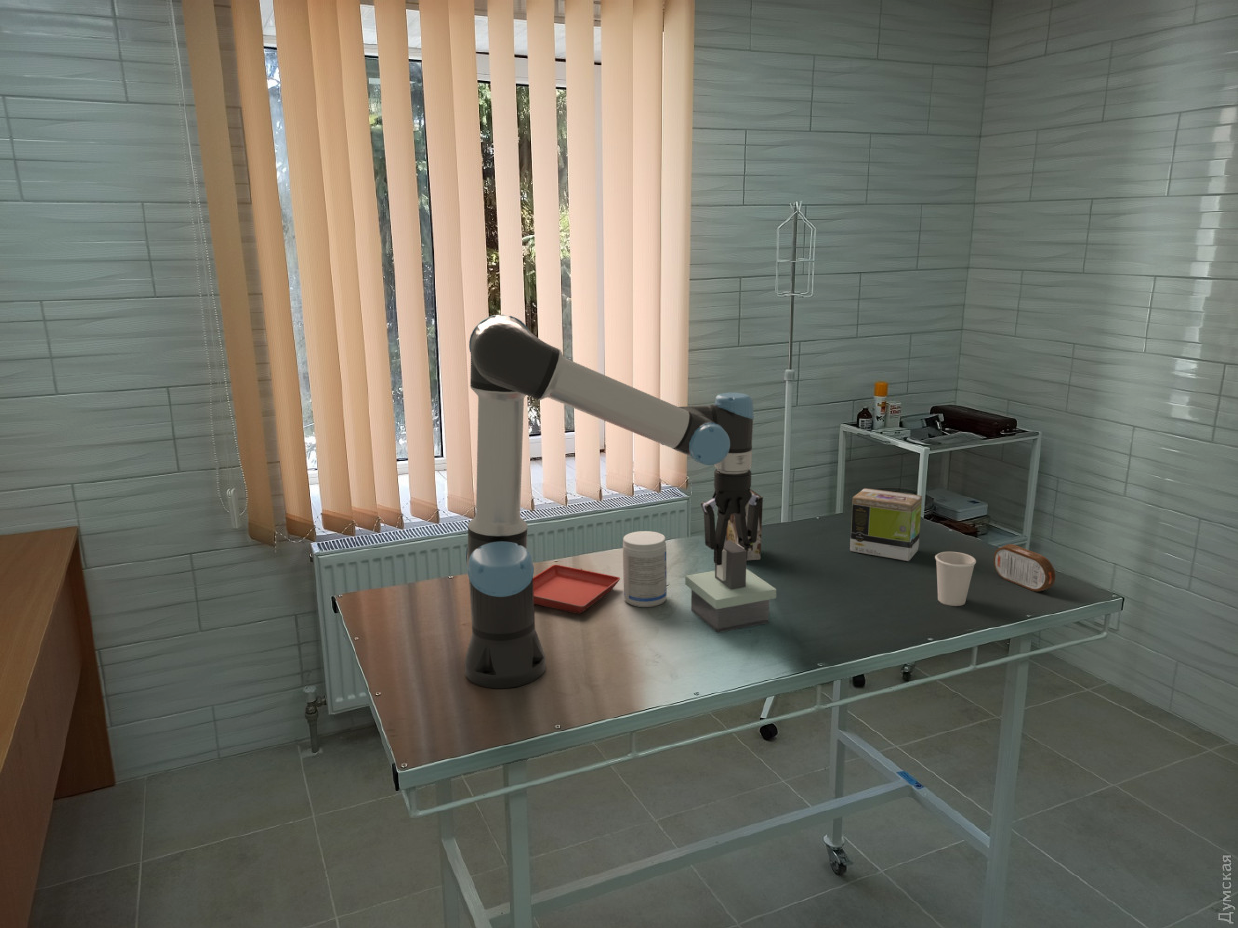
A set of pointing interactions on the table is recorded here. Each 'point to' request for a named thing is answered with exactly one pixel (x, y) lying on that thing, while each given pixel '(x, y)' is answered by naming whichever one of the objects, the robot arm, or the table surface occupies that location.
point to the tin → (1024, 567)
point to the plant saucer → (570, 588)
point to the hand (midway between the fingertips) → (730, 576)
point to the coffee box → (731, 533)
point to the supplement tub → (644, 568)
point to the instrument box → (730, 614)
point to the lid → (731, 582)
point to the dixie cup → (953, 577)
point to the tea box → (885, 523)
